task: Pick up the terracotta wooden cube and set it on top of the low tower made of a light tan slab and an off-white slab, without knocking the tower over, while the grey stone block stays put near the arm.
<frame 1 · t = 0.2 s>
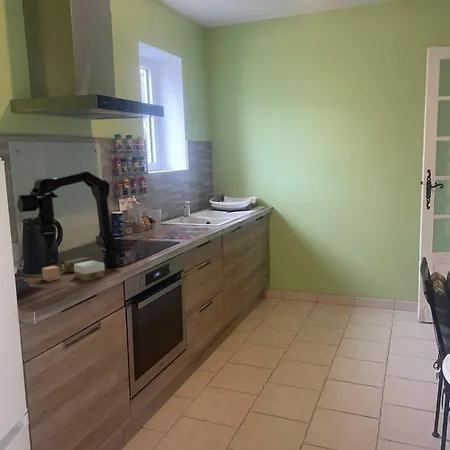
hand: (49, 247, 191), 14 cm above the counter, tool pointing down, fingers open, 9 cm apart
tower top: (89, 270, 195), point 3 cm above the counter, touching tower bottom
tower bottom: (89, 277, 196), on the counter, touching tower top
stone block: (77, 270, 209), on the counter
cube: (51, 279, 194), on the counter
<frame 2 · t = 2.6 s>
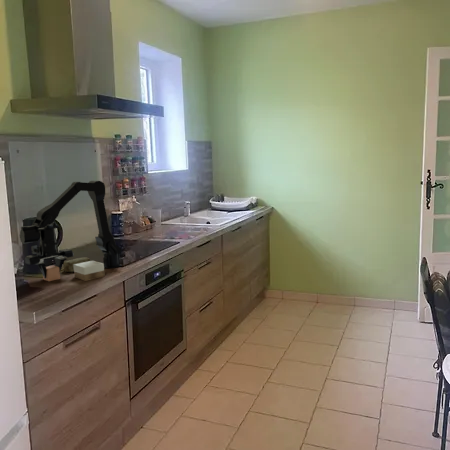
hand: (51, 276, 194), 1 cm above the counter, tool pointing down, fingers closed on cube, 5 cm apart
tower top: (89, 270, 195), point 2 cm above the counter
tower bottom: (89, 277, 196), on the counter
cube: (51, 279, 194), on the counter, touching gripper
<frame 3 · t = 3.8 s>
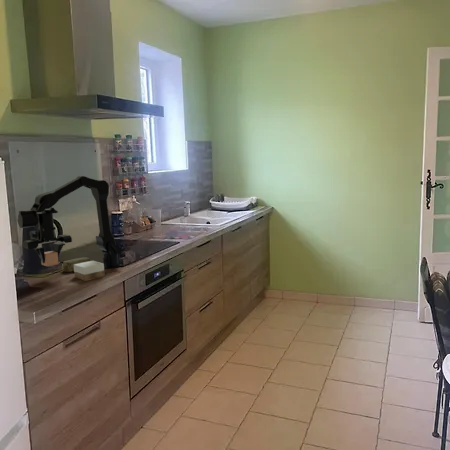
hand: (49, 261, 193), 7 cm above the counter, tool pointing down, fingers closed on cube, 5 cm apart
tower top: (89, 270, 195), point 3 cm above the counter, touching tower bottom
tower bottom: (89, 277, 196), on the counter, touching tower top
cube: (50, 264, 193), point 6 cm above the counter, touching gripper
everything else where it was.
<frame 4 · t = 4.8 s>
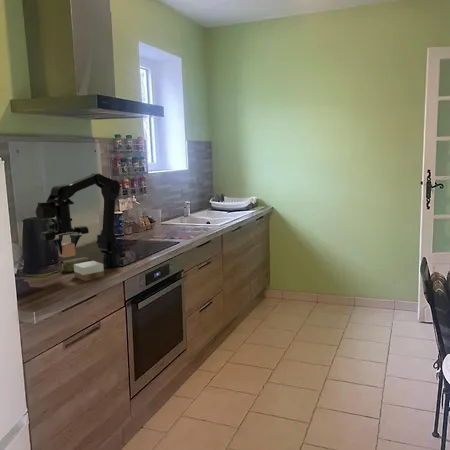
hand: (67, 253, 193), 11 cm above the counter, tool pointing down, fingers closed on cube, 5 cm apart
tower top: (88, 271, 195), point 2 cm above the counter
tower bottom: (89, 277, 196), on the counter
cube: (67, 255, 194), point 10 cm above the counter, touching gripper
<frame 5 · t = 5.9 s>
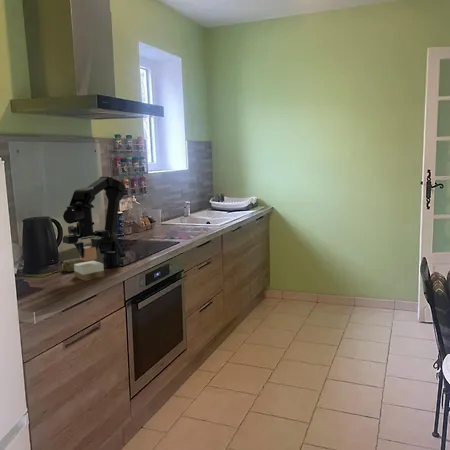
hand: (88, 256, 194), 9 cm above the counter, tool pointing down, fingers closed on cube, 5 cm apart
tower top: (89, 270, 195), point 3 cm above the counter, touching tower bottom
tower bottom: (89, 277, 196), on the counter, touching tower top
cube: (88, 259, 194), point 8 cm above the counter, touching gripper
when the fingers open (8 cm above the counter, at t = 6.6 s): cube drops 2 cm, resting on tower top.
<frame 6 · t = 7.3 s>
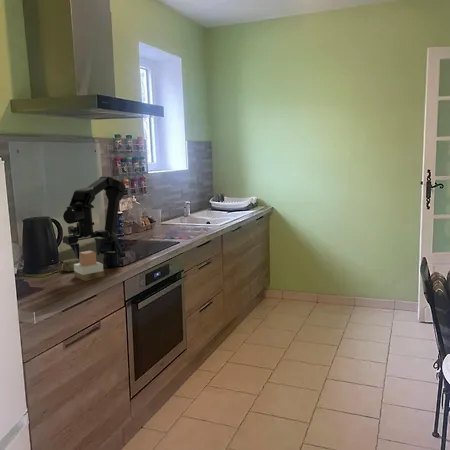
hand: (88, 257, 194), 8 cm above the counter, tool pointing down, fingers open, 9 cm apart
tower top: (88, 270, 195), point 3 cm above the counter, touching cube, tower bottom
cube: (88, 263, 195), point 6 cm above the counter, touching tower top
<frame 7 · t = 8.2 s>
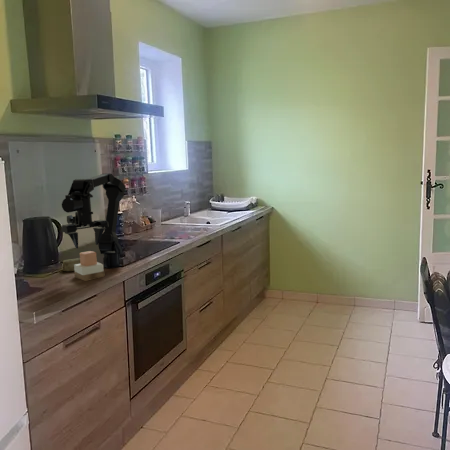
hand: (87, 246, 194), 13 cm above the counter, tool pointing down, fingers open, 9 cm apart
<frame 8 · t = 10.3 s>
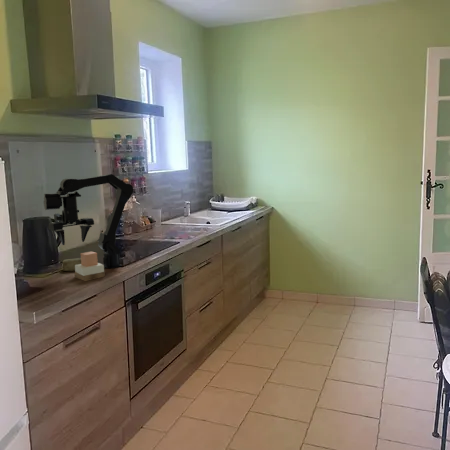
hand: (73, 243, 202), 13 cm above the counter, tool pointing down, fingers open, 9 cm apart
at the end: cube 0.2 cm off-centre on the tower top, point 3.0 cm above the tower top's base; tower top 0.1 cm off-centre on the tower bottom, point 3.0 cm above the tower bottom's base; tower bottom moved 0.6 cm from its start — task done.
